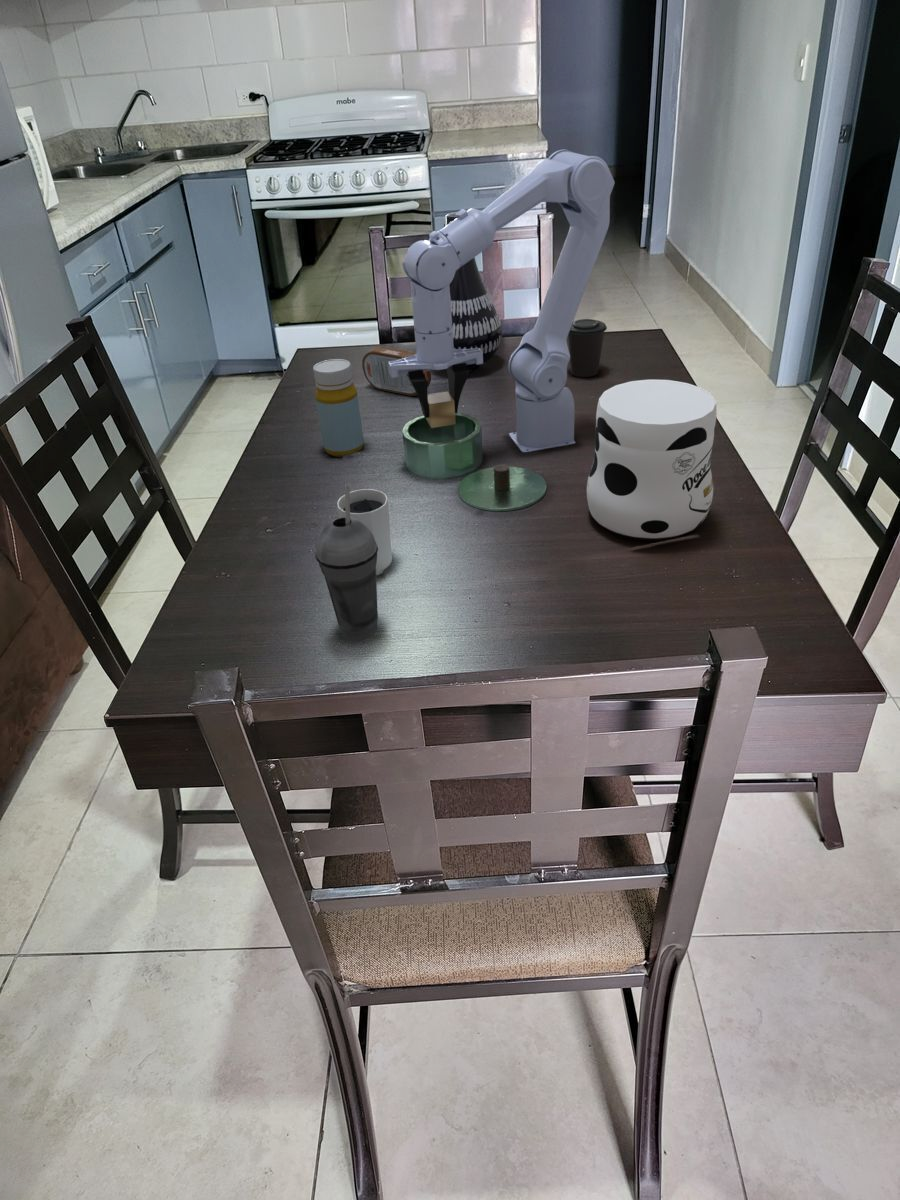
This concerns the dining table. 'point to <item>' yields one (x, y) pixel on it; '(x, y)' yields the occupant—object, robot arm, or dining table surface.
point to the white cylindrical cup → (372, 520)
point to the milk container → (652, 459)
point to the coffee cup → (585, 346)
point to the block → (441, 409)
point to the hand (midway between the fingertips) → (439, 413)
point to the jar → (443, 447)
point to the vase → (473, 311)
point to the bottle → (338, 407)
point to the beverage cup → (350, 573)
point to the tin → (379, 370)
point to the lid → (502, 488)
